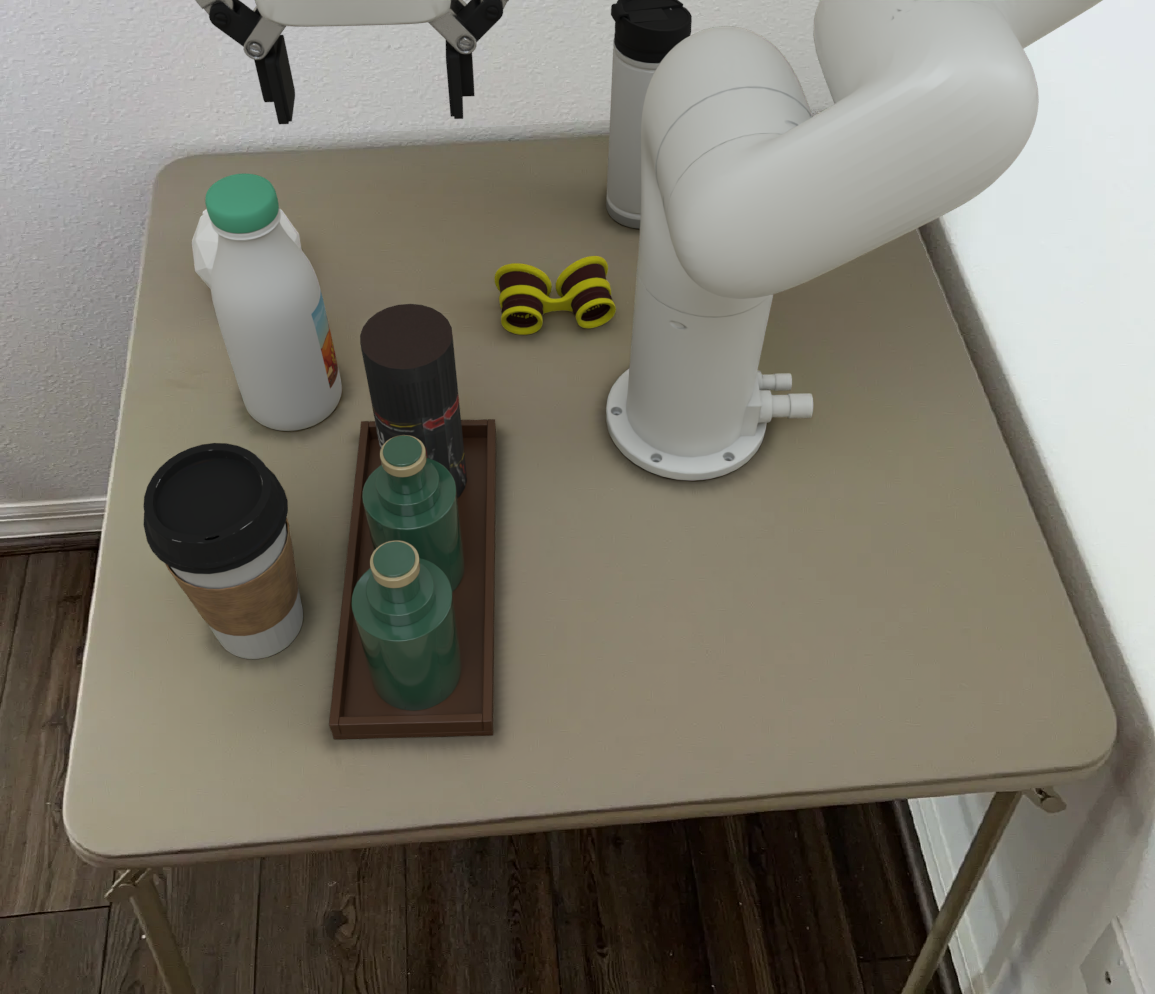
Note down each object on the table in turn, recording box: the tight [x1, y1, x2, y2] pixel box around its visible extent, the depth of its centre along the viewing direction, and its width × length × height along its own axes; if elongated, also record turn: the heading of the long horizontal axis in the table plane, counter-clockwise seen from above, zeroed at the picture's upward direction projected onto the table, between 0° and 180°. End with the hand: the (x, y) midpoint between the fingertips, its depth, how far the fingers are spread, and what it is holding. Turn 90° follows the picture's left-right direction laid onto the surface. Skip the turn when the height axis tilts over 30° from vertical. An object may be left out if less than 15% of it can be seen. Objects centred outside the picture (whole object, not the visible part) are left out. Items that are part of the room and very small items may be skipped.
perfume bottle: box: [191, 208, 302, 291], centre depth 95 cm, size 9×9×12 cm
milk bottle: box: [204, 172, 343, 432], centre depth 82 cm, size 8×8×20 cm
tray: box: [328, 418, 497, 740], centre depth 79 cm, size 10×25×2 cm, turn 2°
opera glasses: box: [493, 255, 617, 336], centre depth 94 cm, size 10×5×5 cm, turn 99°
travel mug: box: [605, 0, 693, 230], centre depth 97 cm, size 6×7×20 cm
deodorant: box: [359, 303, 467, 498], centre depth 79 cm, size 6×6×15 cm
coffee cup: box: [142, 442, 304, 660], centre depth 72 cm, size 8×8×15 cm
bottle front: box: [352, 541, 462, 711], centre depth 70 cm, size 6×6×13 cm
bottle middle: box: [362, 435, 465, 592], centre depth 74 cm, size 6×6×13 cm
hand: (372, 107), depth 65 cm, fingers open, 9 cm apart
